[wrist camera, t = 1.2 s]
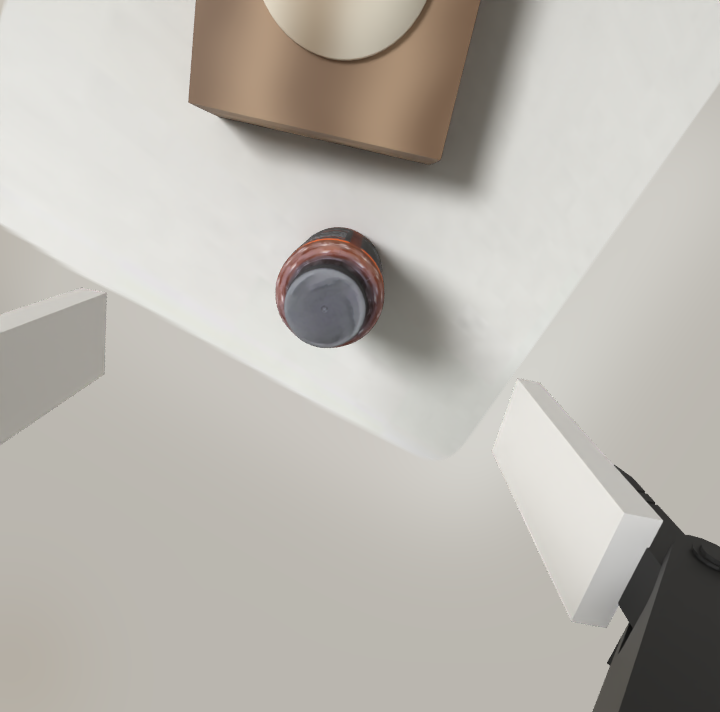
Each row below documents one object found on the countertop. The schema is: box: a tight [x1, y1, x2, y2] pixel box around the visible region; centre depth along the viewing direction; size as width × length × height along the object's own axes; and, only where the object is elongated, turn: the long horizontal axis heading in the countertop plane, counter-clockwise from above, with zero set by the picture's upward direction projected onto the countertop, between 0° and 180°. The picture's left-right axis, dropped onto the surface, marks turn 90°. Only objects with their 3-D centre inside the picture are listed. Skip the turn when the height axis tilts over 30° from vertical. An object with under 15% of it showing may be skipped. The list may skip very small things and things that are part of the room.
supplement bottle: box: [276, 227, 384, 348], centre depth 27 cm, size 6×6×11 cm
